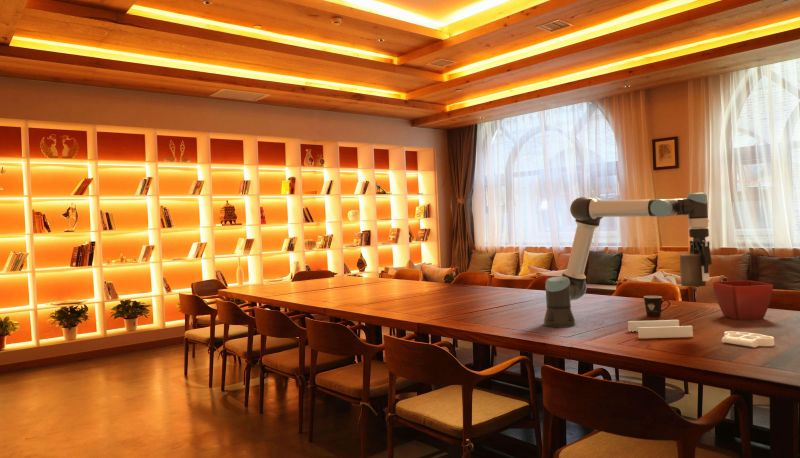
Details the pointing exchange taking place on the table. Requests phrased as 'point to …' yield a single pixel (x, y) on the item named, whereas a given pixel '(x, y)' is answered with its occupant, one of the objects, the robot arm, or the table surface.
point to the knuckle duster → (747, 339)
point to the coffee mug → (654, 305)
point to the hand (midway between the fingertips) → (700, 279)
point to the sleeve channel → (660, 329)
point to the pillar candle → (691, 270)
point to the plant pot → (743, 298)
